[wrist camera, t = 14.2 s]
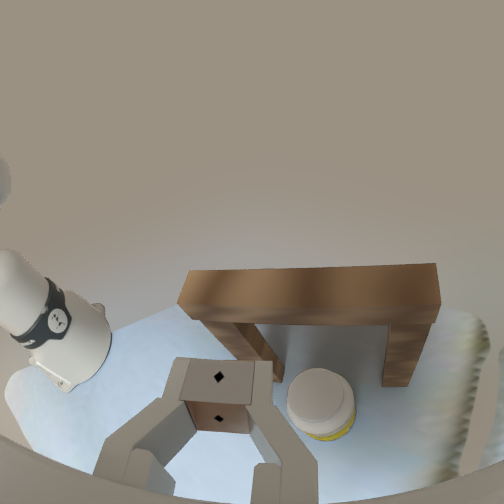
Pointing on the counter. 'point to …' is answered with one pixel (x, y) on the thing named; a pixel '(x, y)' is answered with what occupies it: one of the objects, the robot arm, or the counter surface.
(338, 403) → the pill bottle
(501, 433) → the counter surface
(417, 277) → the walnut archway
